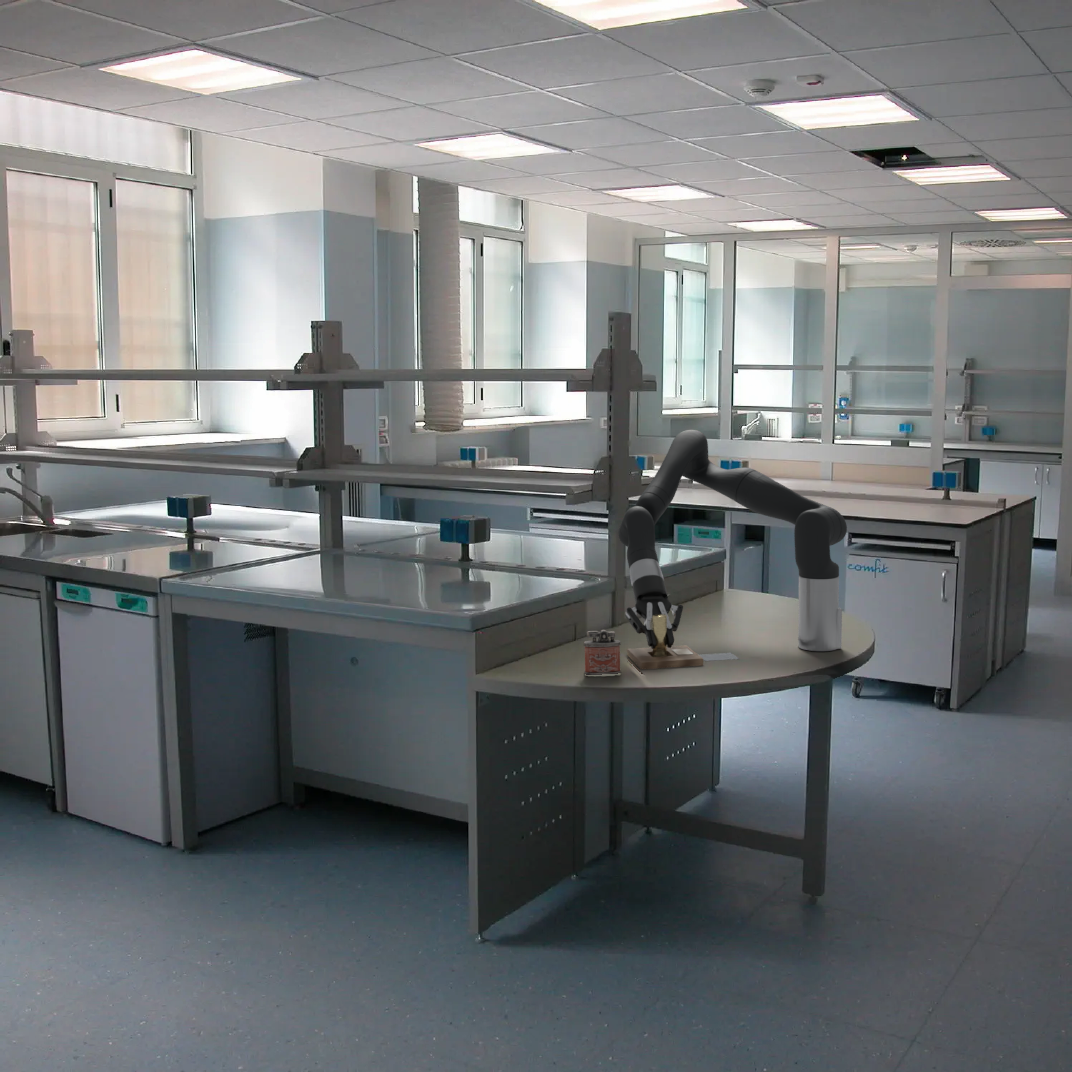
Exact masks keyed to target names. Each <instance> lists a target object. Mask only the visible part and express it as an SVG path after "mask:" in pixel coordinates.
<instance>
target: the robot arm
mask: <svg viewBox="0 0 1072 1072" xmlns="http://www.w3.org/2000/svg"><path fill="white" fill-rule="evenodd" d="M708 442H709V441H708V439H707V437H706V435H705V434H704V433H703V432H701V431H700V430H697V429H686V430H683V431H681V432H679V433H677V434H676V435H675V437H673V440H672V442H671V444H670V446H669V449H668V450H667V453H666V454H665V456H664V459H663V460H662V462H661V465H660V467H659V468H658V470H657V471H656V473H655V475H654V477H653V478H652V480H651V481H650V483H649V484H648V485H647V486H646V488H645V489H644V491H643V492H642V493H641V495H640V496H639V497H638V499H637V501H636V503H635V506H632V507H629V508H628V509H627V510H626V511H625V513H624V515H623V518H622V520H621V523H620V525H619V528H618V533H617V535H618V538H619V541H620V542H621V543H622V544H623V546H626V547H627V550H626V558H627V559H626V560H627V563H628V568H629V578H630V583H631V587H632V593H633V598H634V602H635V605H634V607H627V608H626V610H625V613H624V614H625V615H624V616H625V618H626V619H627V620H628V622H629V624H630V625H631V626H632V628H633V629H634V630H635V632H636V633H637V634H643V635H645V637H646V641H647V645H648V648H650V647H651V649H655V647H656V640H655V636H654V631H653V630H652V615H655V614H664V615H667V647H668V648H671V646H674V643H675V636H674V632H677V631H678V628H679V625H680V621H681V618H682V613H683V610H684V606H683V604H678V606H677V605H674V604H672V602H671V601H670V600H669V598H668V593H667V588H666V583H665V578H664V577H665V576H664V574H663V572H662V569H661V565H660V564H659V558H658V555H657V551H656V534H655V531H656V530H655V526H656V524H657V523H658V521H659V519H660V518H661V517H662V515H664V513H665V512H666V510H667V508H668V507H669V506H670V504H671V503H672V501H673V499H674V497H675V495H676V493H677V491H678V488H679V485H680V482H681V479H682V477H684V478H685V479H688V480H690V481H692V482H695V483H698V484H701V485H702V486H706V487H707V488H709V489H711V490H713V491H715V492H718V493H719V494H721V495H723V496H724V497H727V498H728V499H731V500H732V501H734V502H735V503H737V504H738V505H740V506H742V507H744V508H746V509H748V510H750V511H751V512H755V513H756V514H760V515H763V516H767V517H770V518H773V519H777V520H781V521H785V522H788V523H790V524H792V525H794V533H793V534H794V535H793V536H794V537H793V539H794V557H795V563H796V566H797V570H798V626H797V627H798V628H797V629H798V632H797V633H798V634H797V640H798V641H797V642H798V643H797V644H798V647H799V649H802V650H805V651H810V652H811V651H812V652H829V651H830V652H831V651H835V650H839V649H843V648H842V647H843V646H842V645H843V642H842V638H843V637H842V632H843V631H842V630H843V629H842V627H843V623H842V622H843V609H842V608H841V607H839V601H840V600H839V598H840V597H839V595H840V589H839V587H840V567H839V564H838V563H836V562H834V561H833V560H832V558H831V550H830V549H831V546H834V545H836V544H838V543H840V542H841V541H842V540H843V539H844V538H845V537H846V535H847V531H848V529H847V528H848V527H847V526H848V525H847V522H846V519H845V517H844V516H843V514H841V513H840V512H839V511H838V510H837V509H835V508H832V507H831V506H828V505H825V504H822V503H821V502H820V503H819V502H818V501H815V500H812V499H810V498H807V497H805V496H804V495H801V494H799V493H798V492H796V491H794V490H792V489H791V488H789V487H787V486H786V485H783V483H782V484H781V483H779V482H778V481H776V480H774V479H772V478H771V477H769V476H767V475H765V474H764V473H761V472H760V471H758V470H756V469H754V468H751V467H737V468H731V469H726V468H723V467H720V466H718V465H716V464H714V463H713V462H712V461H711V460H710V459H709V443H708ZM670 611H671V612H672V613H671V614H672V616H673V617H674V619H673V622H672V623H671V621H670V617H669V615H668V614H669V613H670ZM637 614H638V615H639V616H640V617H641V618H642V619H643V620H644V623H642V621H641V619H640V618H639V617H638V616H637Z"/></svg>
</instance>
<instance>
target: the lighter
mask: <svg viewBox="0 0 1072 1072" xmlns="http://www.w3.org/2000/svg"><path fill="white" fill-rule="evenodd" d="M615 637H616V632H615V631H614V630H612V631H607V630H606V629H601V630H600V631H598V630H589V631H586V638H591V639H592V640H585V641H584V642H583V646H584V674H586V675H602V674H618V673H621V674H622V669H621V657H620V656H621V650H620V649H621V640H619V639H615ZM584 674H583V675H584Z"/></svg>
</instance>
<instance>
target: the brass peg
mask: <svg viewBox="0 0 1072 1072" xmlns="http://www.w3.org/2000/svg"><path fill="white" fill-rule="evenodd" d="M652 630H653V631H654V636H655V640H656V647H655V649H653V657H661V656H667V615H664V614H655V615H652Z"/></svg>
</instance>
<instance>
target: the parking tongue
mask: <svg viewBox="0 0 1072 1072" xmlns="http://www.w3.org/2000/svg"><path fill="white" fill-rule="evenodd" d="M698 655H699V656H701V657H702V658H703V662H713V661H726V660H727V661H728V660H729V661H730V660H740V657H739V658H738V657H737V655H735V654H734V653H732V652H719V653H705V654H704V653H703V654H701V653H700V654H698Z"/></svg>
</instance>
